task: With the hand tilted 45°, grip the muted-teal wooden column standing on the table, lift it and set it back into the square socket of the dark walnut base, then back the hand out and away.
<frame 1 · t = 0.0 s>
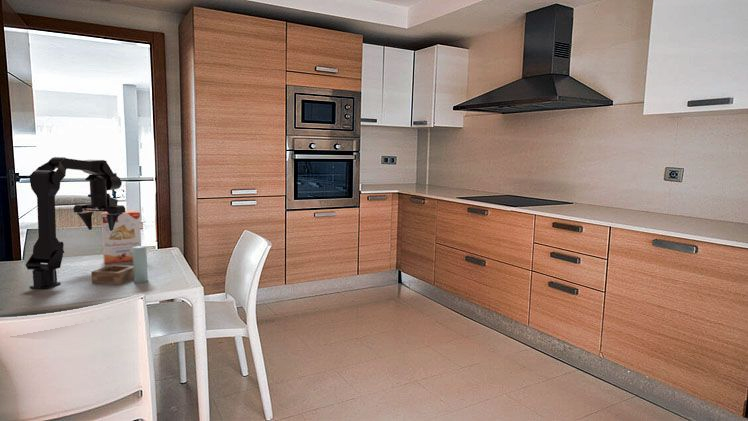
hand: (100, 230, 186), 15 cm above the table, tool pointing down, fingers open, 9 cm apart
column: (141, 280, 168), on the table
socket base: (115, 279, 170), on the table
cracker box: (123, 260, 197), on the table
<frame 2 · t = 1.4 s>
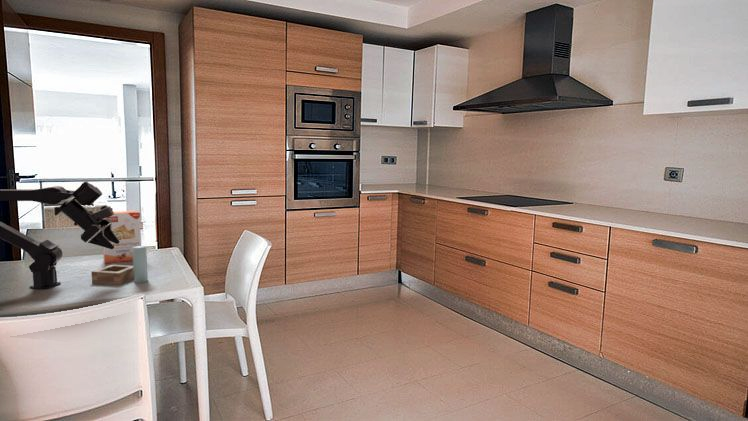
hand: (116, 245, 165), 13 cm above the table, tool tilted 45°, fingers open, 9 cm apart
nothing on the table moved.
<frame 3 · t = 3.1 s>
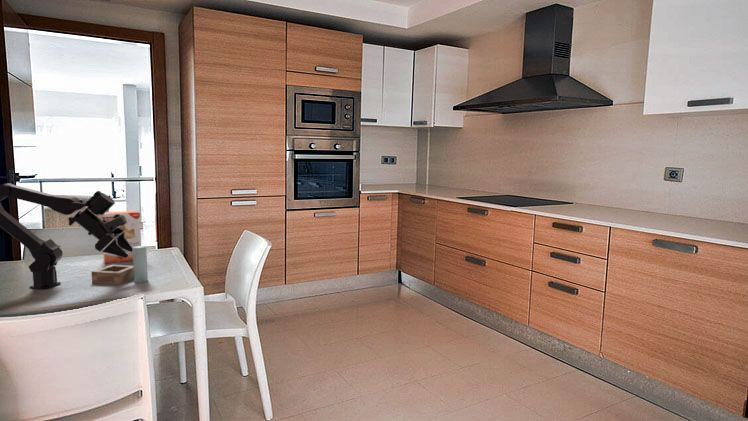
hand: (130, 253, 166), 10 cm above the table, tool tilted 45°, fingers open, 9 cm apart
nothing on the table moved.
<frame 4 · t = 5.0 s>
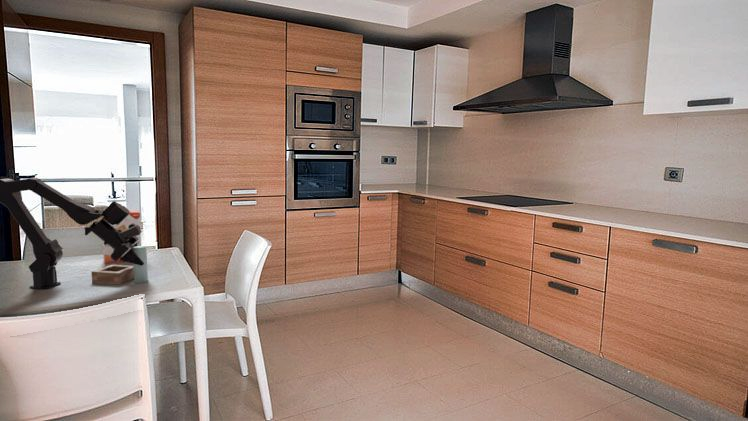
hand: (144, 263, 168), 7 cm above the table, tool tilted 45°, fingers closed on column, 4 cm apart
column: (141, 280, 168), on the table, touching gripper
everything else where it was.
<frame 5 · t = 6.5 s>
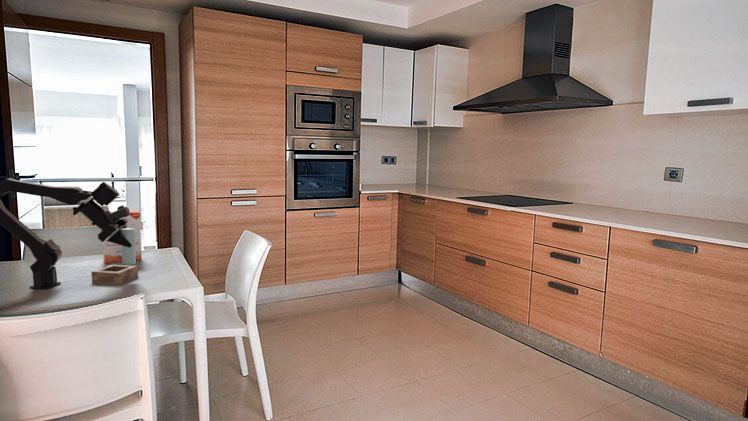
hand: (132, 245, 167), 13 cm above the table, tool tilted 45°, fingers closed on column, 4 cm apart
column: (128, 263, 168), point 6 cm above the table, touching gripper
everything else where it was.
when the fingers open (9 cm above the table, at t = 8.3 s): column drops 1 cm, resting on socket base.
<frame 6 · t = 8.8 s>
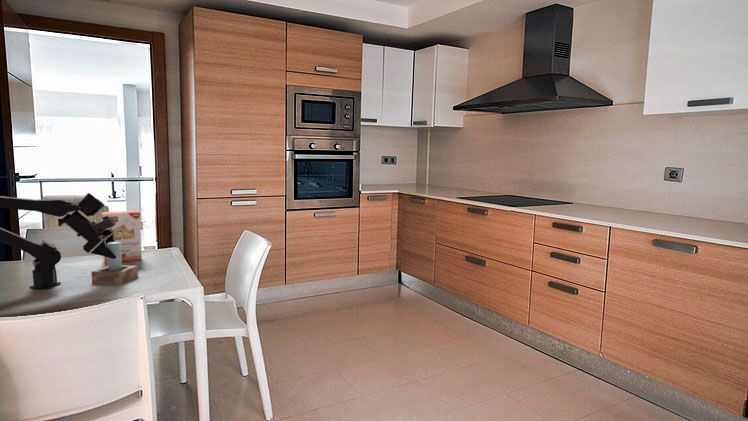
hand: (118, 255, 169), 9 cm above the table, tool tilted 45°, fingers open, 9 cm apart
column: (115, 276, 170), point 1 cm above the table, touching socket base
everything else where it was.
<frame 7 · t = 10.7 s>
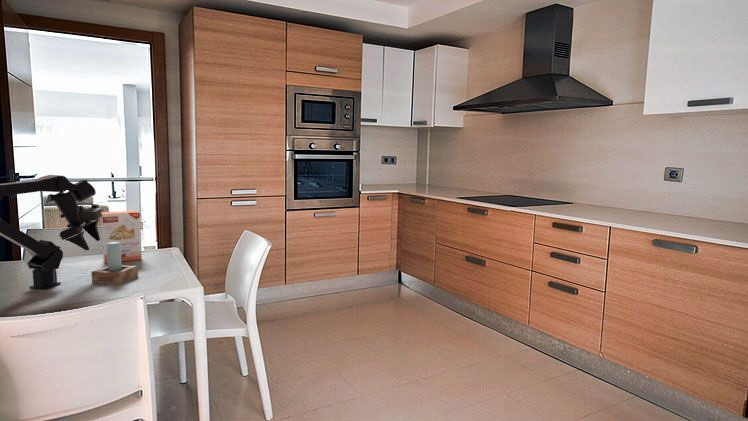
hand: (93, 245, 170), 12 cm above the table, tool tilted 25°, fingers open, 9 cm apart
nothing on the table moved.
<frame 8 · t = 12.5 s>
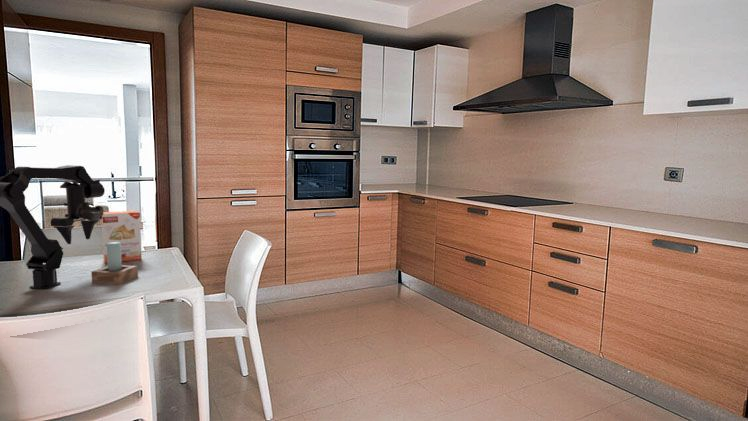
hand: (78, 241, 172), 13 cm above the table, tool pointing down, fingers open, 9 cm apart
nothing on the table moved.
at the end: column 0.0 cm off-centre on the socket base, point 1.0 cm above the socket base's base; column tilted 0°; the gripper is holding nothing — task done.
